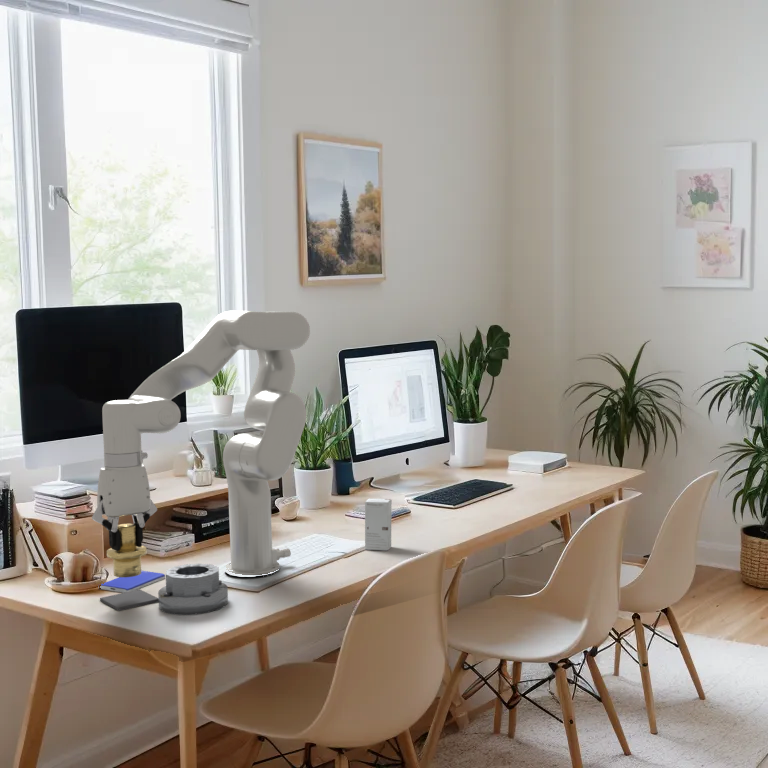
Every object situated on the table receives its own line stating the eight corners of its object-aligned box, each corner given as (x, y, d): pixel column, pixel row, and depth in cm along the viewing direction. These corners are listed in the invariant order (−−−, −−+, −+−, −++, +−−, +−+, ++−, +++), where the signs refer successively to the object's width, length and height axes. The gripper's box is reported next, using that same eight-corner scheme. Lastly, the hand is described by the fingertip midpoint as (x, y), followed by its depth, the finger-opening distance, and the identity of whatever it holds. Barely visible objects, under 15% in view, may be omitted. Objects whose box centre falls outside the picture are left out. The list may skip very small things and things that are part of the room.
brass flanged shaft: (137, 566, 216) (135, 519, 215) (154, 574, 210) (152, 526, 209) (101, 573, 211) (99, 525, 210) (117, 581, 205) (115, 532, 204)
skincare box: (364, 550, 249) (363, 501, 247) (368, 545, 253) (367, 497, 252) (389, 551, 247) (388, 502, 246) (392, 546, 252) (391, 498, 251)
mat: (140, 592, 217) (139, 589, 217) (159, 601, 210) (159, 598, 210) (100, 600, 212) (99, 597, 212) (118, 610, 205) (118, 607, 205)
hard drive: (137, 569, 232) (98, 584, 221) (165, 573, 228) (127, 588, 217) (137, 576, 232) (98, 591, 221) (165, 580, 228) (127, 595, 217)
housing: (207, 589, 218) (205, 557, 217) (240, 604, 207) (239, 571, 207) (147, 603, 209) (145, 570, 209) (178, 619, 198) (177, 584, 198)
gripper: (152, 453, 217) (155, 538, 218) (76, 462, 206) (80, 551, 208) (168, 457, 211) (171, 544, 212) (91, 467, 200) (95, 558, 202)
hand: (126, 546), depth 210 cm, fingers closed on brass flanged shaft, 4 cm apart
